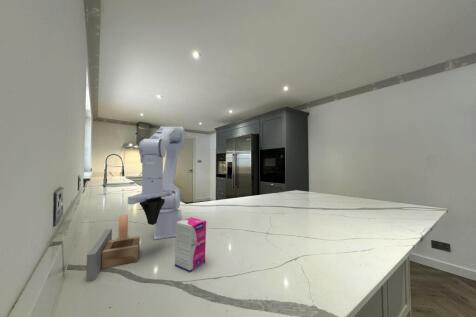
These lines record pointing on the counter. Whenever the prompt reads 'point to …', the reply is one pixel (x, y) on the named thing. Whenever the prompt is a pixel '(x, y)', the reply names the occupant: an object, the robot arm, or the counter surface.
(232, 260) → the counter surface
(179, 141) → the robot arm
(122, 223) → the dowel
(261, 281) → the counter surface
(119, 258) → the socket block
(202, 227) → the supplement box
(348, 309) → the counter surface
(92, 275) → the wall
